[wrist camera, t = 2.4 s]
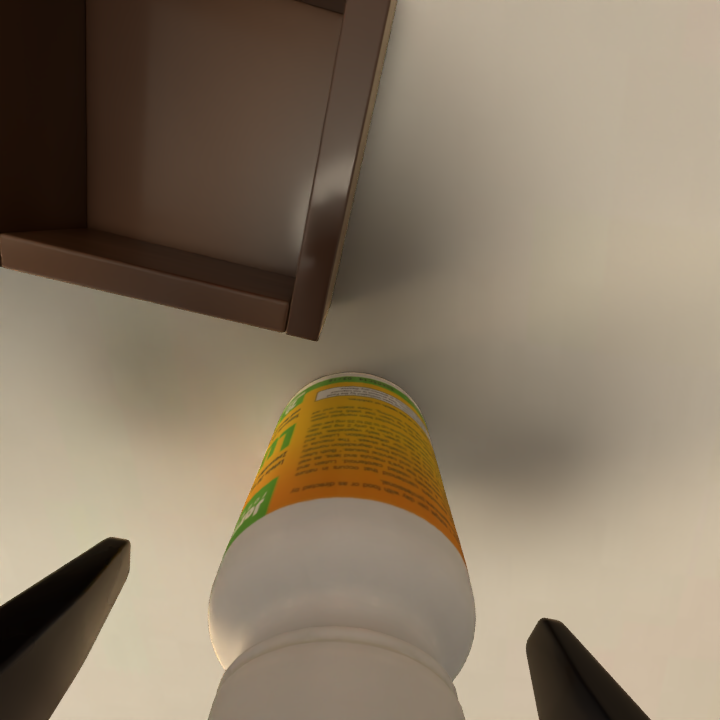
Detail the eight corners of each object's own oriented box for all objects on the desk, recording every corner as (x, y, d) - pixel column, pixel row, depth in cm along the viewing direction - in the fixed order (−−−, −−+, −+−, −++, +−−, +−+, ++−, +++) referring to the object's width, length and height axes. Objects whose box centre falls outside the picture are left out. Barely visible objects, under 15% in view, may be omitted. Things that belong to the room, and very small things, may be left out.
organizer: (-185, 185, 11) (-405, 174, 8) (-275, -205, 9) (-667, -461, 5) (329, 308, 13) (317, 342, 9) (397, -1, 10) (414, -108, 6)
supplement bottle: (286, 356, 13) (112, 677, 4) (442, 381, 13) (604, 736, 4) (272, 485, 15) (132, 900, 6) (409, 505, 15) (472, 931, 6)
